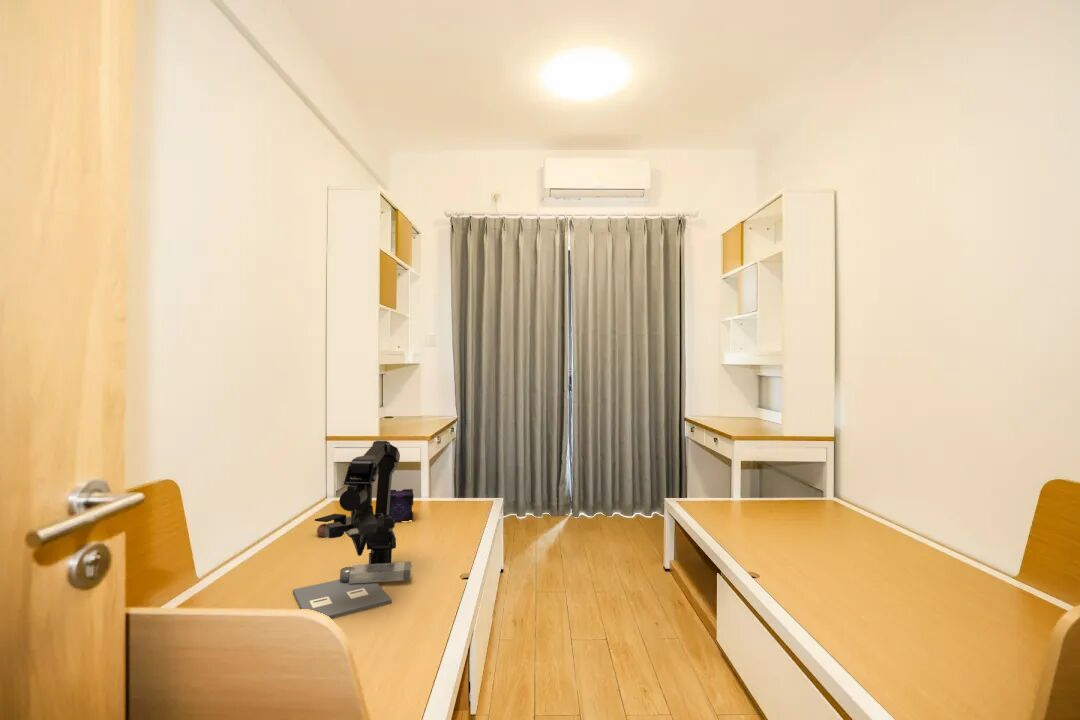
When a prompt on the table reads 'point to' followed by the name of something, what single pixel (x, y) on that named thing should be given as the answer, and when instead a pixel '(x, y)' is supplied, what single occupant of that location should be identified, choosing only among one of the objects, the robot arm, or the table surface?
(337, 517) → the figurine character
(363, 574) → the grey long block
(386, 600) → the label board
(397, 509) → the energy cube
